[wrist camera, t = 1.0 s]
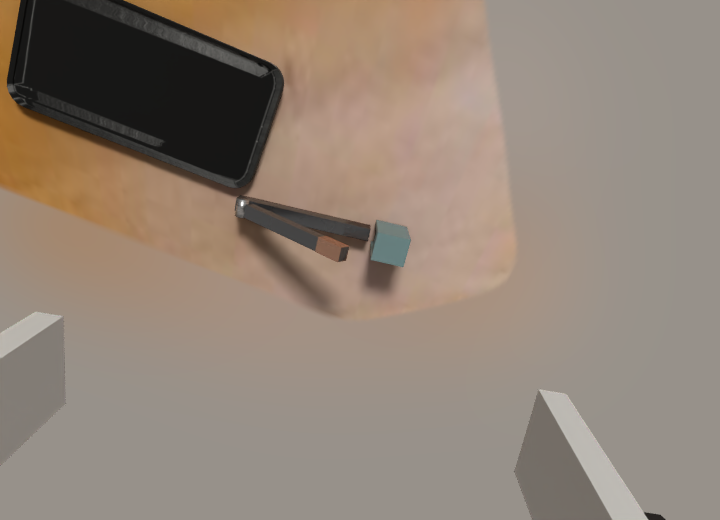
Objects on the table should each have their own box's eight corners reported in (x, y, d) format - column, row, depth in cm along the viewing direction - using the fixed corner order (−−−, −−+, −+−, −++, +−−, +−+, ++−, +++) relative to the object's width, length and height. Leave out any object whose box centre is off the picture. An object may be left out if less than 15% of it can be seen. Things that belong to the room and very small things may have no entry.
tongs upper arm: (241, 214, 32) (232, 214, 31) (244, 197, 31) (234, 197, 31) (345, 262, 27) (337, 264, 27) (349, 243, 27) (341, 245, 26)
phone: (27, -41, 27) (287, 70, 29) (40, -35, 28) (290, 70, 30) (3, 100, 30) (245, 195, 31) (16, 100, 31) (249, 192, 32)
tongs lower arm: (238, 206, 32) (234, 210, 31) (240, 194, 32) (236, 197, 31) (367, 236, 33) (367, 241, 32) (370, 225, 33) (370, 229, 32)
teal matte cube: (370, 245, 33) (370, 259, 30) (376, 219, 32) (377, 232, 29) (399, 251, 33) (403, 267, 30) (406, 227, 33) (410, 240, 30)
